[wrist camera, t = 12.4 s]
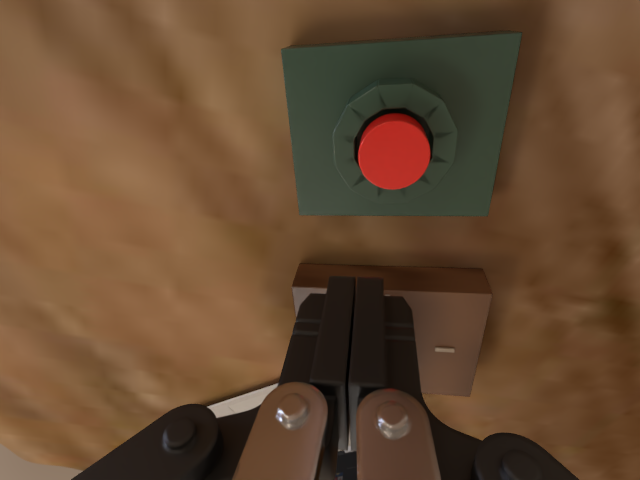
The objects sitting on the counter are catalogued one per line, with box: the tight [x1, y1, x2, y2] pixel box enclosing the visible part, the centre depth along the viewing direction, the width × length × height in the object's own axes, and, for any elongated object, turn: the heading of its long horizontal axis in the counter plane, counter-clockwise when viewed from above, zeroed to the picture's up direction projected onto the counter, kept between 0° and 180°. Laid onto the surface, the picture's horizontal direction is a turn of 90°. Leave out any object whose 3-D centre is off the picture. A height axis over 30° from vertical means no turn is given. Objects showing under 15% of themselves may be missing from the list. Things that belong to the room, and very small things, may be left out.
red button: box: [358, 113, 431, 190], centre depth 19 cm, size 4×4×2 cm
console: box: [292, 264, 493, 397], centre depth 30 cm, size 14×11×3 cm
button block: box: [281, 31, 522, 216], centre depth 21 cm, size 12×10×4 cm
